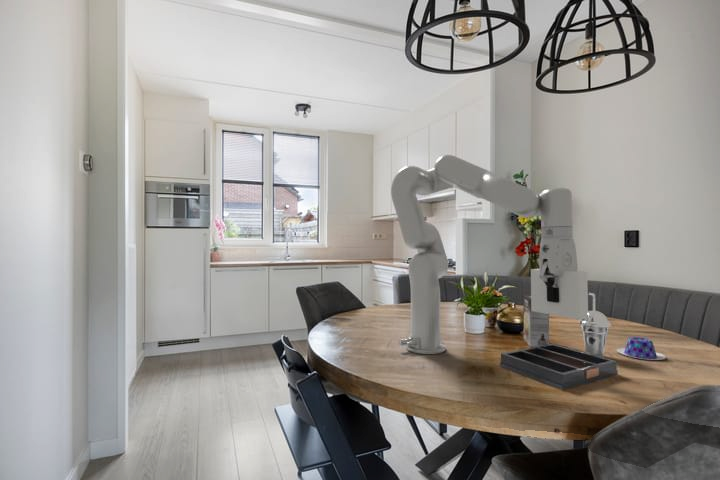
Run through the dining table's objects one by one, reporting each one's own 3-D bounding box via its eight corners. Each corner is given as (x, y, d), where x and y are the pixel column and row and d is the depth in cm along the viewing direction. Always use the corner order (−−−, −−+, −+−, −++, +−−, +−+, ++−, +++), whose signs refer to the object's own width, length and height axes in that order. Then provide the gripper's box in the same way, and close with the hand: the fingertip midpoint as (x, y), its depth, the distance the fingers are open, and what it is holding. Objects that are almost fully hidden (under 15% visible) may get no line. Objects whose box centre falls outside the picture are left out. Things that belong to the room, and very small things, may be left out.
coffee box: (522, 339, 130) (522, 294, 130) (542, 340, 128) (542, 295, 128) (529, 346, 121) (529, 298, 121) (550, 348, 119) (550, 299, 119)
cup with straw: (618, 359, 108) (618, 292, 108) (593, 361, 106) (592, 293, 106) (594, 350, 116) (594, 288, 116) (570, 352, 114) (570, 289, 114)
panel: (579, 319, 91) (578, 272, 92) (531, 311, 104) (530, 269, 104) (588, 318, 93) (587, 271, 93) (539, 309, 105) (538, 268, 106)
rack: (563, 390, 85) (563, 375, 85) (499, 366, 101) (499, 353, 102) (619, 374, 95) (618, 361, 95) (552, 354, 112) (552, 343, 112)
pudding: (611, 355, 113) (611, 338, 113) (622, 348, 120) (622, 332, 120) (661, 365, 104) (661, 346, 104) (669, 356, 111) (669, 339, 111)
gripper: (549, 233, 92) (550, 305, 91) (588, 233, 99) (590, 300, 99) (524, 234, 98) (525, 302, 98) (562, 234, 106) (564, 297, 106)
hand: (558, 300), depth 98 cm, fingers closed on panel, 3 cm apart
